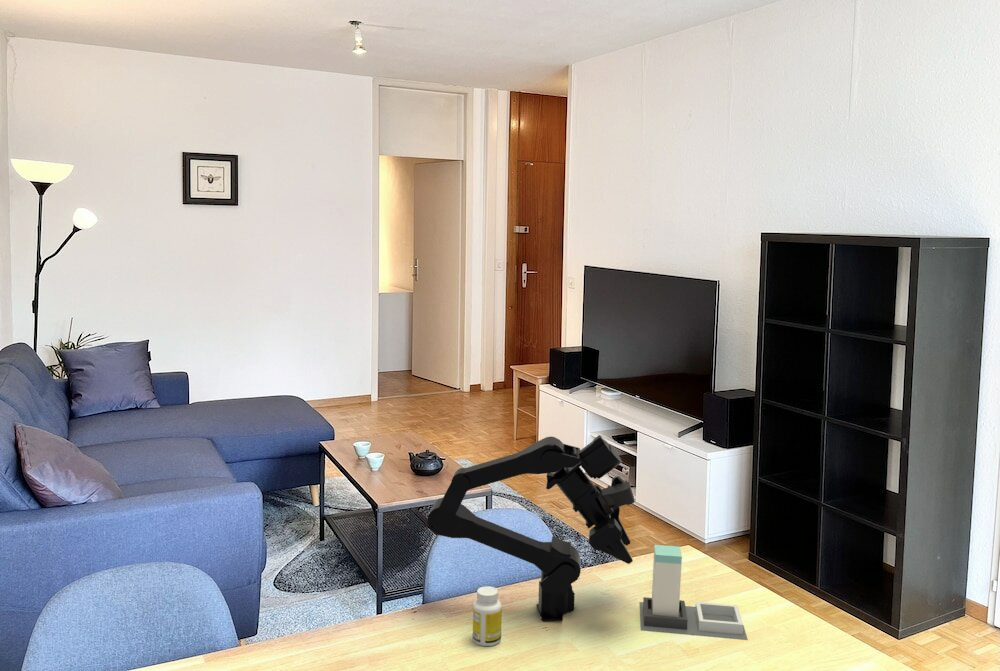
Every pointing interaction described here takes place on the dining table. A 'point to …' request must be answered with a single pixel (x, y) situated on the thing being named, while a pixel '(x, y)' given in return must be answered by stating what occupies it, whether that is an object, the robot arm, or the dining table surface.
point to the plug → (666, 581)
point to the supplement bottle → (487, 617)
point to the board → (696, 620)
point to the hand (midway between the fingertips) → (629, 553)
